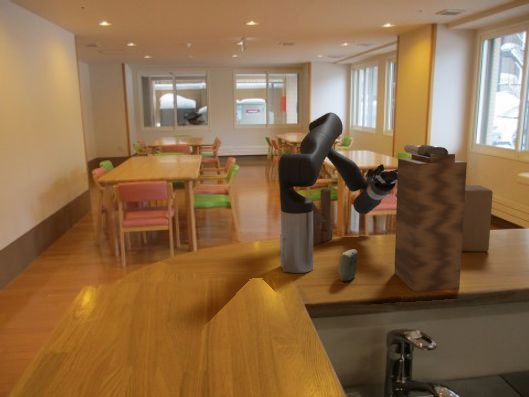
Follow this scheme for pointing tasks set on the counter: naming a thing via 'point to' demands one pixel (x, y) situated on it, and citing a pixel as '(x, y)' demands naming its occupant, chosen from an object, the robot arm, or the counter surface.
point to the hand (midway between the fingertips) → (396, 166)
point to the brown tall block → (430, 221)
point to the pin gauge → (425, 150)
